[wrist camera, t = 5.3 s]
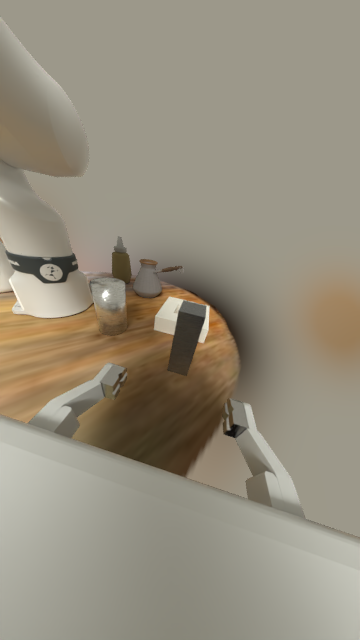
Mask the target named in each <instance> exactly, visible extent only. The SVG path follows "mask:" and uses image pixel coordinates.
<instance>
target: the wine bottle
mask: <svg viewBox="0 0 360 640" xmlns="http://www.w3.org/2000/svg"><path fill="white" fill-rule="evenodd" d="M5 251H6V248H5V246H4V245H3V244H2V242H1V241H0V293H3V292H9V291H13V289H12V287H11V285H10V282H9V279H10V278H11V276H12V275H13V274H14V273H15V270H14V269H13V268H12V266H11V264H10V262H9V261H8V259H7V255H6V253H5Z"/></svg>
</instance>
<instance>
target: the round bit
mask: <svg viewBox="0 0 360 640" xmlns="http://www.w3.org/2000/svg"><path fill="white" fill-rule="evenodd" d="M90 286H91V291H92V296H93V300H94V305H95V310H96V315H97V320H98V325H99V330H100V332H101V333H102V334H105V335H110V336H112V335H118V334H121V333H123V332H125V331H126V329H127V310H126V293H125V282H124V281H122V280H120V279H116V278H97V279H94V280H92V281H90Z"/></svg>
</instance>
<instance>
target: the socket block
mask: <svg viewBox="0 0 360 640" xmlns="http://www.w3.org/2000/svg"><path fill="white" fill-rule="evenodd" d="M185 301H186V300H185ZM182 302H183V300H182V299H178V298H174V297H169V298H168V299H167V301H166V302H165V303H164V305H163V306H162V308H161V309H160V310H159V312H158V313H157V314H156V316H155V324H154V330H157V331H160V332H164V333H168V334H171V335H174V333H175V327H176V322H177V317H178V311H179V309H180V307H181V305H182ZM189 302H190V301H189ZM193 303H194V302H193ZM197 304H198V303H197ZM201 305H202V304H201ZM205 306H206V305H205ZM208 327H209V306H207V307H206V318H205V321H204V324H203V327H202V330H201V333H200V336H199V340H198V342H201V343H204V341H205V338H206V335H207V332H208Z"/></svg>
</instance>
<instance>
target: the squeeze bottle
mask: <svg viewBox="0 0 360 640" xmlns="http://www.w3.org/2000/svg"><path fill="white" fill-rule="evenodd" d="M114 250H115V252H113V253H112V274H113V276H114V278H116V279H120V280H122V281H124V282H125V283H129V281H130V278H131V275H132V274H131V268H130V260H129V255H128V254H127V253H126V248H125V247H123V243H122V239H121V237H118V240H117V246H114Z"/></svg>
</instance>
